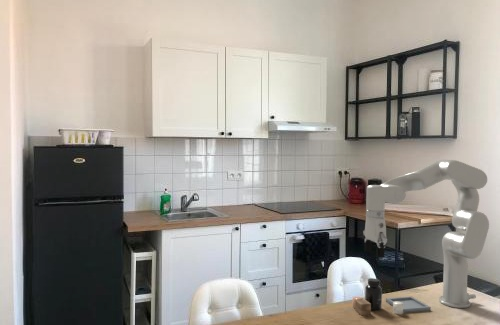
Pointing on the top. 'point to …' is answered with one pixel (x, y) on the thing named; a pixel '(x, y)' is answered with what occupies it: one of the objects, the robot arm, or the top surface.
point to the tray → (409, 304)
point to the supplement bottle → (374, 293)
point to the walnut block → (363, 307)
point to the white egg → (398, 307)
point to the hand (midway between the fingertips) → (374, 254)
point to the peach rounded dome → (355, 301)
